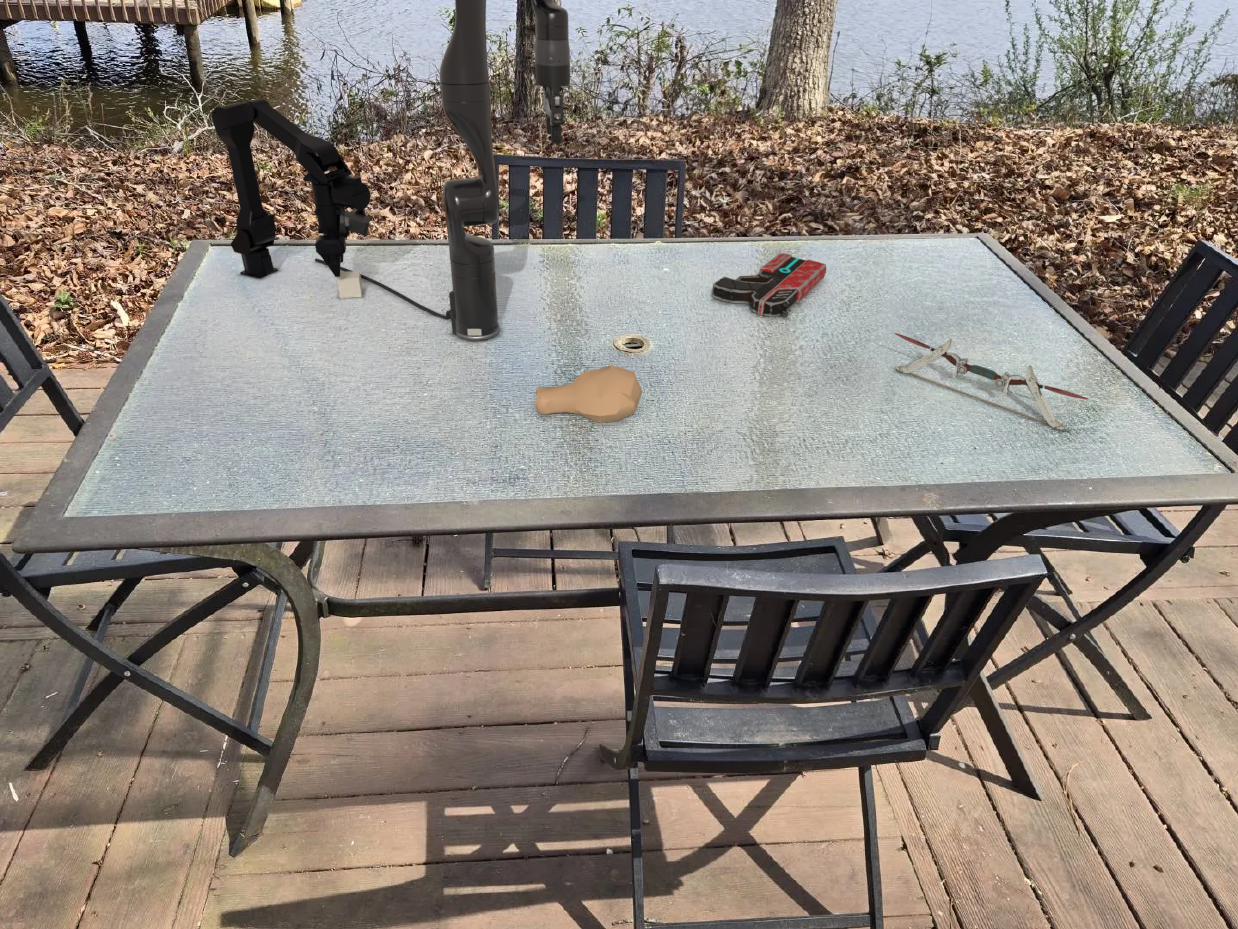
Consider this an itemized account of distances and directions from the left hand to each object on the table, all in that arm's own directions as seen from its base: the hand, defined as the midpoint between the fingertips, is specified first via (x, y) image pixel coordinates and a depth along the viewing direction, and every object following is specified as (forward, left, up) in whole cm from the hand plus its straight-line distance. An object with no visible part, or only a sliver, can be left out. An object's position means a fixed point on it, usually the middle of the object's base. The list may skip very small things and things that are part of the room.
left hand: (339, 269), depth 205 cm
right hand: (+41, +31, +28) cm, 58 cm away
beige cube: (+1, +1, -6) cm, 7 cm away
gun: (+90, +50, -6) cm, 104 cm away
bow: (+142, +16, -6) cm, 143 cm away
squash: (+77, -24, -6) cm, 80 cm away
